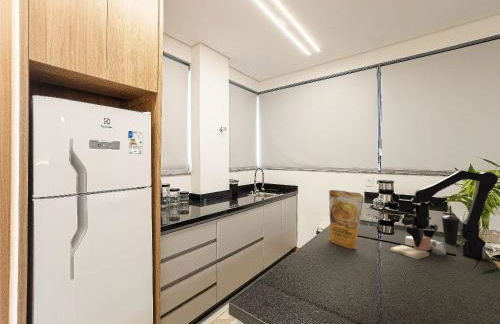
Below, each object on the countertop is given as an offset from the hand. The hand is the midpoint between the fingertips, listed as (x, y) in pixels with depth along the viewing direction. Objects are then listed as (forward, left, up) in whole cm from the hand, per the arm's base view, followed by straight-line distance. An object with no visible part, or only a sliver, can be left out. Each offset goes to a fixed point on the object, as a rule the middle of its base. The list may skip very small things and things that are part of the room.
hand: (422, 245), depth 117 cm
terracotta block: (0, 0, -2) cm, 2 cm away
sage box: (0, -9, -2) cm, 9 cm away
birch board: (0, +12, -2) cm, 12 cm away
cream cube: (+5, -1, -2) cm, 6 cm away
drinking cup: (-3, -23, -2) cm, 23 cm away
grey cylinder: (-7, 0, -2) cm, 7 cm away
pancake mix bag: (+23, +30, -2) cm, 38 cm away
